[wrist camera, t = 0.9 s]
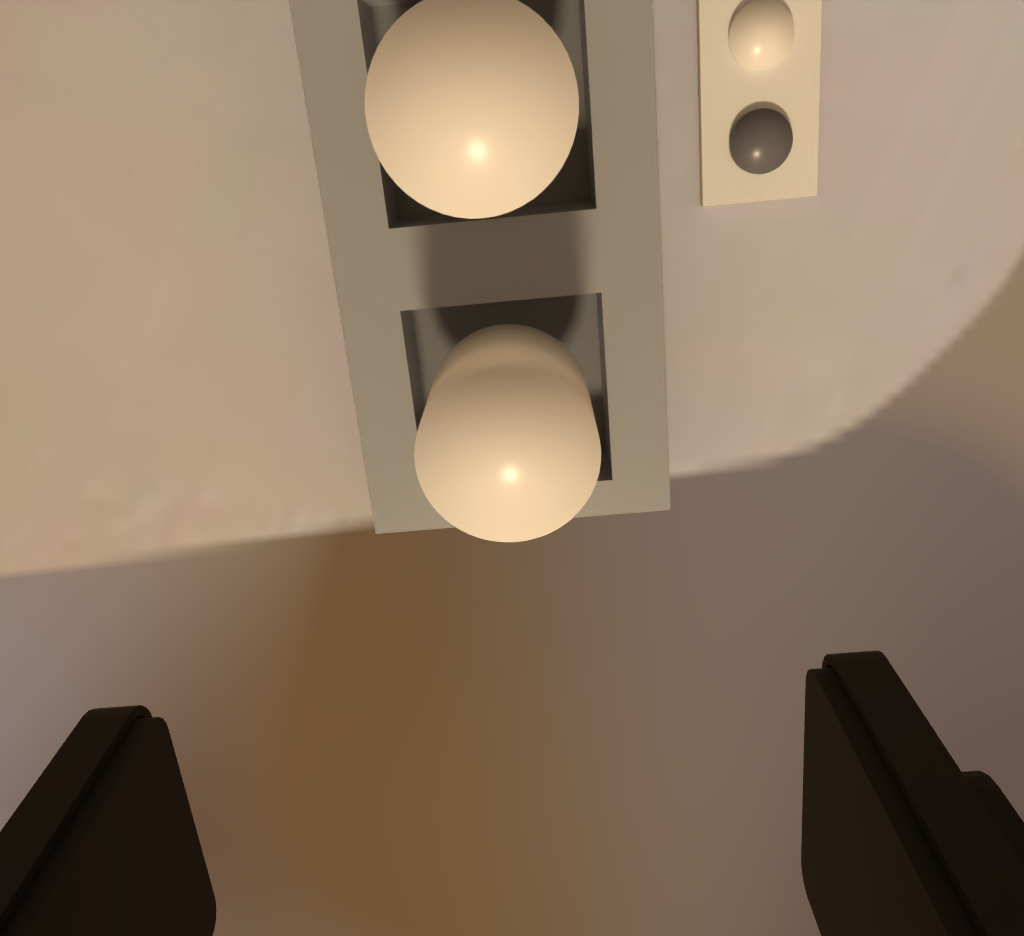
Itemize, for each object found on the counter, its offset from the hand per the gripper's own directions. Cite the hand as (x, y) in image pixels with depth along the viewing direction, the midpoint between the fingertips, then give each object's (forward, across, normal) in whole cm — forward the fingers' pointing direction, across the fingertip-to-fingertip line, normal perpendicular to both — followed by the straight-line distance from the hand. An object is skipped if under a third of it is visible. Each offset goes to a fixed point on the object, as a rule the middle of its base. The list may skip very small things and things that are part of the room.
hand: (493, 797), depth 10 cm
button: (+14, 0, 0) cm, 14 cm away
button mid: (+14, 0, -7) cm, 16 cm away
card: (+18, -7, -8) cm, 21 cm away
